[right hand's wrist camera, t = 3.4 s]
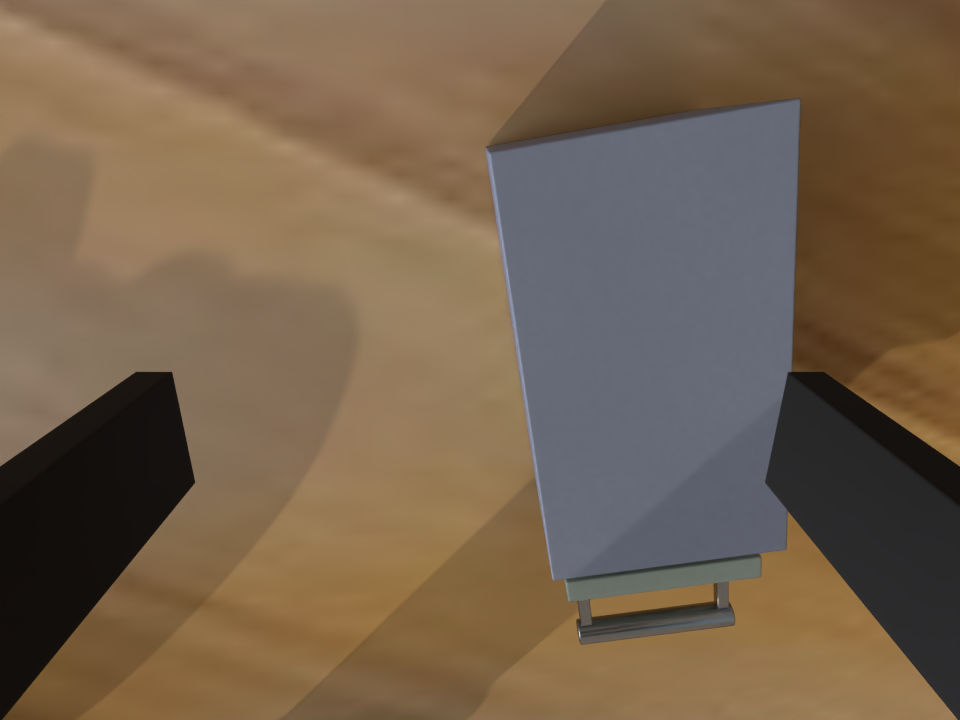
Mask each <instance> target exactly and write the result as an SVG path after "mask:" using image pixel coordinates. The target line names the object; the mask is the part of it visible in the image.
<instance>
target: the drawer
mask: <svg viewBox="0 0 960 720" xmlns="http://www.w3.org/2000/svg"><path fill="white" fill-rule="evenodd" d="M758 577H761V556H760V554H759V553H758V554H750V555H743V556H735V557H727V558H720V559H712V560H705V561H697V562H690V563H682V564H674V565H667V566H659V567H652V568H644V569H636V570H629V571H621V572H614V573H606V574H599V575H591V576H583V577H576V578H568V579H564V581H565V586H566V591H567V597H568V600H569V602H573V601H577V602H578V609H579V617H580V619H577V620H576V624H577V631H578V637H579V642H580V644H581V645H584V644H592V643H600V642H608V641H616V640H624V639H632V638H640V637H648V636H656V635H664V634H671V633H679V632H687V631H695V630H703V629H711V628H719V627H727V626H733V625H735V615H734V611H733V608H732V606H731V604H730V602H729V588H728V581H735V580H742V579H750V578H758ZM711 583H714V601H713V602H705V603H697V604H690V605H682V606H674V607H666V608H658V609H651V610H643V611H635V612H627V613H619V614H611V615H604V616H596V617H591V609H590V601H589V599H596V598H603V597H611V596H619V595H627V594H634V593H642V592H650V591H657V590H665V589H673V588H681V587H688V586H696V585H704V584H711Z"/></svg>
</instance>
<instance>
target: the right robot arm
mask: <svg viewBox="0 0 960 720" xmlns="http://www.w3.org/2000/svg"><path fill="white" fill-rule="evenodd" d="M194 483H195V480H194V475H193V470H192V465H191V460H190V456H189V451H188V446H187V441H186V436H185V432H184V427H183V422H182V417H181V413H180V408H179V403H178V398H177V393H176V389H175V384H174V379H173V374H172V372H135V373H134V374H133V375H131V376H130V377H128V378H127V379H125V380H124V381H123V382H121V383H120V384H118V385H117V386H115V387H114V388H112V389H111V390H110V391H108V392H107V393H105V394H104V395H102V396H101V397H100V398H98V399H97V400H95V401H94V402H92V403H91V404H89V405H88V406H87V407H85V408H84V409H82V410H81V411H79V412H78V413H77V414H75V415H74V416H72V417H71V418H69V419H68V420H66V421H65V422H64V423H62V424H61V425H59V426H58V427H56V428H55V429H54V430H52V431H51V432H49V433H48V434H46V435H45V436H43V437H42V438H41V439H39V440H38V441H36V442H35V443H33V444H32V445H31V446H29V447H28V448H26V449H25V450H23V451H22V452H20V453H19V454H18V455H16V456H15V457H13V458H12V459H10V460H9V461H8V462H6V463H5V464H3V465H2V466H0V720H2V719H3V718H4V717H5V715H6V714H7V713H8V712H9V711H10V709H11V708H12V707H13V706H14V704H15V703H16V702H17V701H18V699H19V698H20V697H21V696H22V695H23V693H24V692H25V691H26V690H27V688H28V687H29V686H30V685H31V684H32V682H33V681H34V680H35V679H36V677H37V676H38V675H39V674H40V672H41V671H42V670H43V669H44V668H45V666H46V665H47V664H48V663H49V661H50V660H51V659H52V658H53V657H54V655H55V654H56V653H57V652H58V650H59V649H60V648H61V647H62V645H63V644H64V643H65V642H66V641H67V639H68V638H69V637H70V636H71V634H72V633H73V632H74V631H75V629H76V628H77V627H78V626H79V625H80V623H81V622H82V621H83V620H84V618H85V617H86V616H87V615H88V614H89V612H90V611H91V610H92V609H93V607H94V606H95V605H96V604H97V602H98V601H99V600H100V599H101V598H102V596H103V595H104V594H105V593H106V591H107V590H108V589H109V588H110V587H111V585H112V584H113V583H114V582H115V580H116V579H117V578H118V577H119V575H120V574H121V573H122V572H123V571H124V569H125V568H126V567H127V566H128V564H129V563H130V562H131V561H132V560H133V558H134V557H135V556H136V555H137V553H138V552H139V551H140V550H141V548H142V547H143V546H144V545H145V544H146V542H147V541H148V540H149V539H150V537H151V536H152V535H153V534H154V532H155V531H156V530H157V529H158V528H159V526H160V525H161V524H162V523H163V521H164V520H165V519H166V518H167V517H168V515H169V514H170V513H171V512H172V510H173V509H174V508H175V507H176V505H177V504H178V503H179V502H180V501H181V499H182V498H183V497H184V496H185V494H186V493H187V492H188V491H189V490H190V488H191V487H192V486H193V485H194ZM765 483H766V485H767V486H768V487H769V488H770V490H771V491H772V492H773V493H774V494H775V496H776V497H777V498H778V499H779V501H780V502H781V503H782V504H783V505H784V507H785V508H786V509H787V510H788V512H789V513H790V514H791V515H792V517H793V518H794V519H795V520H796V521H797V523H798V524H799V525H800V526H801V528H802V529H803V530H804V531H805V532H806V534H807V535H808V536H809V537H810V539H811V540H812V541H813V542H814V544H815V545H816V546H817V547H818V548H819V550H820V551H821V552H822V553H823V555H824V556H825V557H826V558H827V560H828V561H829V562H830V563H831V564H832V566H833V567H834V568H835V569H836V571H837V572H838V573H839V574H840V575H841V577H842V578H843V579H844V580H845V582H846V583H847V584H848V585H849V587H850V588H851V589H852V590H853V591H854V593H855V594H856V595H857V596H858V598H859V599H860V600H861V601H862V602H863V604H864V605H865V606H866V607H867V609H868V610H869V611H870V612H871V614H872V615H873V616H874V617H875V618H876V620H877V621H878V622H879V623H880V625H881V626H882V627H883V628H884V629H885V631H886V632H887V633H888V634H889V636H890V637H891V638H892V639H893V641H894V642H895V643H896V644H897V645H898V647H899V648H900V649H901V650H902V652H903V653H904V654H905V655H906V657H907V658H908V659H909V660H910V661H911V663H912V664H913V665H914V666H915V668H916V669H917V670H918V671H919V672H920V674H921V675H922V676H923V677H924V679H925V680H926V681H927V682H928V684H929V685H930V686H931V687H932V688H933V690H934V691H935V692H936V693H937V695H938V696H939V697H940V698H941V699H942V701H943V702H944V703H945V704H946V706H947V707H948V708H949V709H950V711H951V712H952V713H953V714H954V715H955V717H956V718H957V719H958V720H960V466H958V465H957V464H955V463H954V462H952V461H951V460H950V459H948V458H947V457H945V456H944V455H942V454H941V453H940V452H938V451H937V450H935V449H934V448H932V447H931V446H929V445H928V444H927V443H925V442H924V441H922V440H921V439H919V438H918V437H917V436H915V435H914V434H912V433H911V432H909V431H908V430H906V429H905V428H904V427H902V426H901V425H899V424H898V423H896V422H895V421H894V420H892V419H891V418H889V417H888V416H886V415H885V414H883V413H882V412H881V411H879V410H878V409H876V408H875V407H873V406H872V405H871V404H869V403H868V402H866V401H865V400H863V399H862V398H860V397H859V396H858V395H856V394H855V393H853V392H852V391H850V390H849V389H848V388H846V387H845V386H843V385H842V384H840V383H839V382H837V381H836V380H835V379H833V378H832V377H830V376H829V375H827V374H826V373H825V372H788V374H787V379H786V384H785V389H784V393H783V398H782V403H781V408H780V413H779V417H778V422H777V427H776V432H775V436H774V441H773V446H772V451H771V456H770V460H769V465H768V470H767V475H766V480H765Z"/></svg>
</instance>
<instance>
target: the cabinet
mask: <svg viewBox="0 0 960 720" xmlns="http://www.w3.org/2000/svg"><path fill="white" fill-rule="evenodd" d="M800 111H801V99H800V98H795V99H786V100H778V101H769V102H760V103H751V104H743V105H734V106H725V107H716V108H708V109H699V110H693V111H687V112H681V113H675V114H670V115H664V116H658V117H653V118H647V119H641V120H635V121H630V122H624V123H618V124H613V125H607V126H601V127H595V128H590V129H584V130H578V131H573V132H567V133H561V134H555V135H550V136H544V137H538V138H533V139H527V140H521V141H515V142H510V143H504V144H498V145H493V146H487V147H486V148H485V149H486V155H487V162H488V168H489V175H490V182H491V188H492V195H493V202H494V208H495V215H496V221H497V228H498V235H499V241H500V248H501V254H502V261H503V268H504V274H505V281H506V287H507V294H508V301H509V307H510V314H511V320H512V327H513V334H514V340H515V347H516V353H517V360H518V367H519V373H520V380H521V387H522V393H523V400H524V406H525V413H526V420H527V426H528V433H529V439H530V446H531V453H532V459H533V466H534V472H535V478H536V484H537V490H538V496H539V502H540V508H541V514H542V520H543V526H544V532H545V538H546V544H547V550H548V556H549V562H550V568H551V574H552V579H553V580H561V579H568V578H576V577H583V576H591V575H599V574H606V573H614V572H621V571H629V570H636V569H644V568H652V567H659V566H667V565H674V564H682V563H690V562H697V561H705V560H712V559H720V558H727V557H735V556H743V555H750V554H758V553H765V552H773V551H780V550H786V545H787V514H788V510H787V509H786V508H785V507H784V505H783V504H782V503H781V502H780V501H779V499H778V498H777V497H776V496H775V494H774V493H773V492H772V491H771V490H770V488H769V487H768V486H767V485H766V483H765V480H766V475H767V470H768V465H769V460H770V456H771V451H772V446H773V441H774V436H775V432H776V427H777V422H778V417H779V413H780V408H781V403H782V398H783V393H784V389H785V384H786V379H787V374H788V372H792V359H793V328H794V297H795V266H796V235H797V204H798V173H799V142H800Z"/></svg>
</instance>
